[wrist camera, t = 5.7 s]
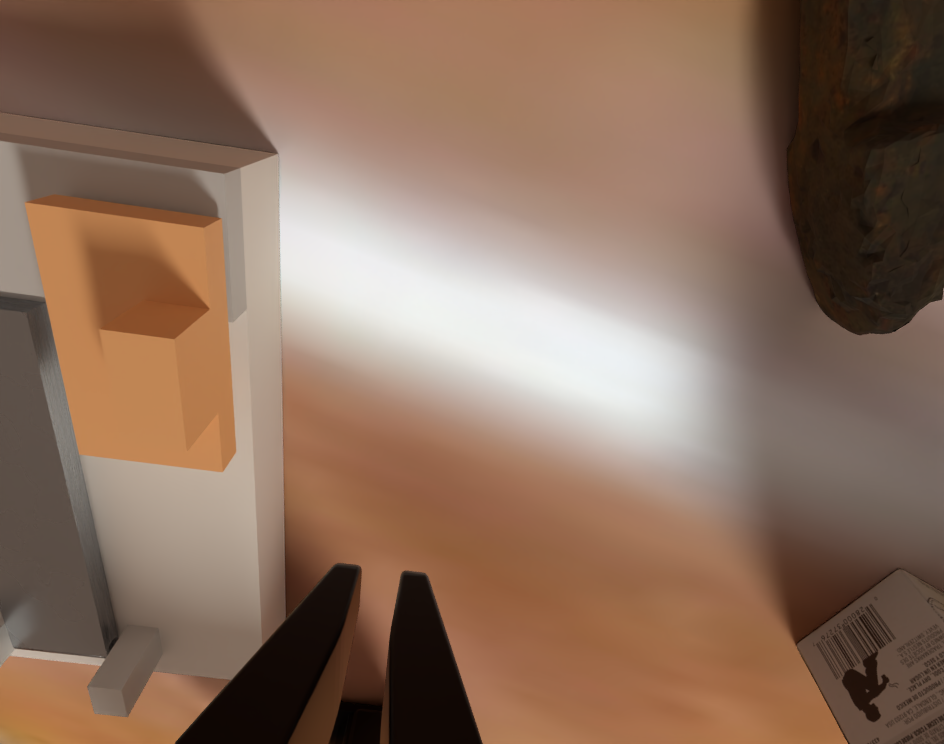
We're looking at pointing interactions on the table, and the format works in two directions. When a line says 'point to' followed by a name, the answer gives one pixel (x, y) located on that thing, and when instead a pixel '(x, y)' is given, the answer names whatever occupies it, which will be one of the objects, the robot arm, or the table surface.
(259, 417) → the mount block
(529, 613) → the table surface
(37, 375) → the grey flat bar
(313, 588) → the robot arm
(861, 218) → the hand tool
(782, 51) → the table surface
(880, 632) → the coffee box
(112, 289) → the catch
